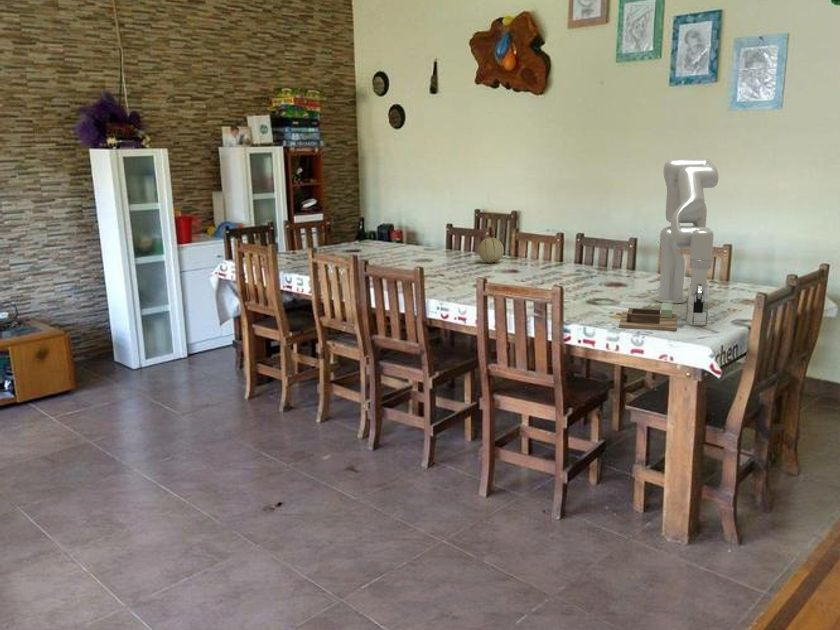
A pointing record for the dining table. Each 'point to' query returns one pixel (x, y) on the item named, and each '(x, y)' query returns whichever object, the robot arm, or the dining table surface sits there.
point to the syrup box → (697, 318)
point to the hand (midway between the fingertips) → (697, 309)
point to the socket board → (647, 320)
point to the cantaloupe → (491, 250)
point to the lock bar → (666, 310)
